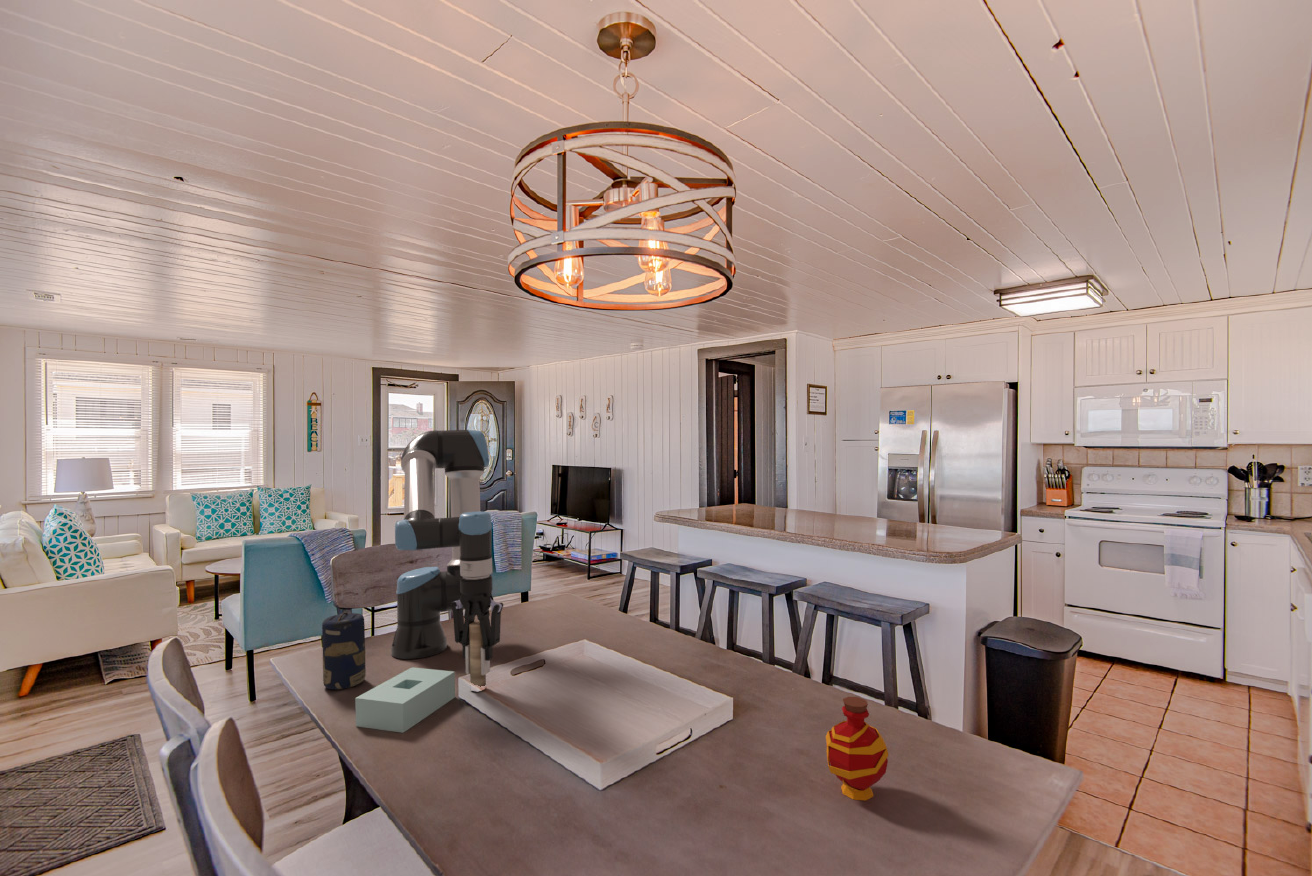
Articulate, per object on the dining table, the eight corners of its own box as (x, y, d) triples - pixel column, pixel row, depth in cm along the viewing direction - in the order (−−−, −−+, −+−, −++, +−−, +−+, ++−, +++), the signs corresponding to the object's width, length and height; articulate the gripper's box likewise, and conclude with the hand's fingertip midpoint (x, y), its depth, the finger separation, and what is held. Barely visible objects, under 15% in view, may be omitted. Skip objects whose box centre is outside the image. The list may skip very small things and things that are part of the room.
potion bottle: (883, 817, 94) (880, 720, 94) (817, 797, 99) (815, 706, 100) (896, 784, 103) (894, 696, 103) (835, 768, 108) (833, 684, 108)
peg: (475, 685, 149) (474, 620, 149) (488, 686, 148) (487, 621, 148) (467, 691, 145) (466, 625, 145) (480, 692, 144) (479, 626, 144)
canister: (373, 677, 156) (372, 607, 156) (351, 692, 146) (350, 618, 146) (338, 677, 156) (337, 607, 157) (314, 692, 147) (313, 618, 147)
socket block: (412, 692, 146) (411, 667, 146) (455, 697, 142) (454, 671, 142) (355, 726, 128) (355, 698, 128) (403, 732, 125) (402, 703, 125)
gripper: (437, 577, 145) (438, 675, 145) (498, 581, 141) (500, 681, 141) (455, 571, 152) (457, 664, 152) (514, 574, 148) (516, 669, 148)
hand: (477, 672), depth 146 cm, fingers closed on peg, 3 cm apart
